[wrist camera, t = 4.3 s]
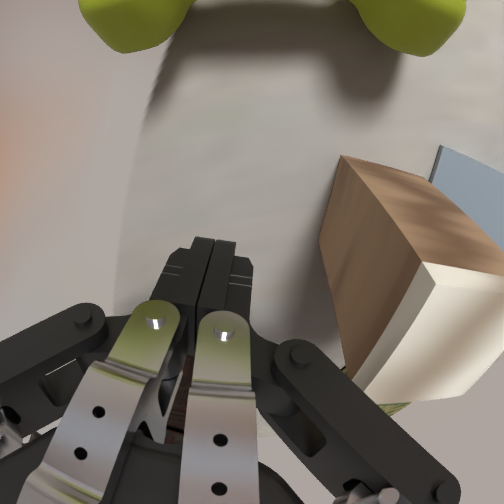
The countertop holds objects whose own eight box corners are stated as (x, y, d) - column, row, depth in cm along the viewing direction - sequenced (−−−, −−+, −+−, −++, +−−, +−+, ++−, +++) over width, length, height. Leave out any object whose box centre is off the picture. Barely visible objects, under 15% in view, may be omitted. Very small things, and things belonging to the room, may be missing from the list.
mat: (539, 194, 16) (542, 197, 15) (490, 294, 22) (492, 297, 21) (440, 145, 15) (443, 146, 15) (388, 281, 21) (389, 284, 21)
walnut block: (423, 177, 17) (541, 298, 7) (394, 253, 20) (461, 395, 10) (341, 154, 16) (436, 283, 6) (318, 240, 20) (352, 405, 10)
